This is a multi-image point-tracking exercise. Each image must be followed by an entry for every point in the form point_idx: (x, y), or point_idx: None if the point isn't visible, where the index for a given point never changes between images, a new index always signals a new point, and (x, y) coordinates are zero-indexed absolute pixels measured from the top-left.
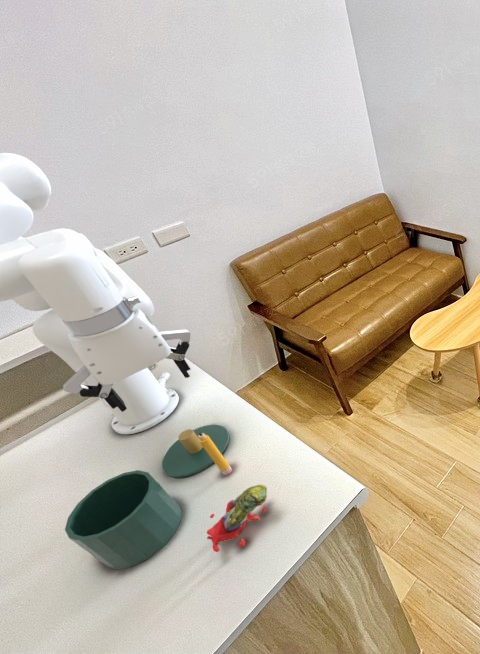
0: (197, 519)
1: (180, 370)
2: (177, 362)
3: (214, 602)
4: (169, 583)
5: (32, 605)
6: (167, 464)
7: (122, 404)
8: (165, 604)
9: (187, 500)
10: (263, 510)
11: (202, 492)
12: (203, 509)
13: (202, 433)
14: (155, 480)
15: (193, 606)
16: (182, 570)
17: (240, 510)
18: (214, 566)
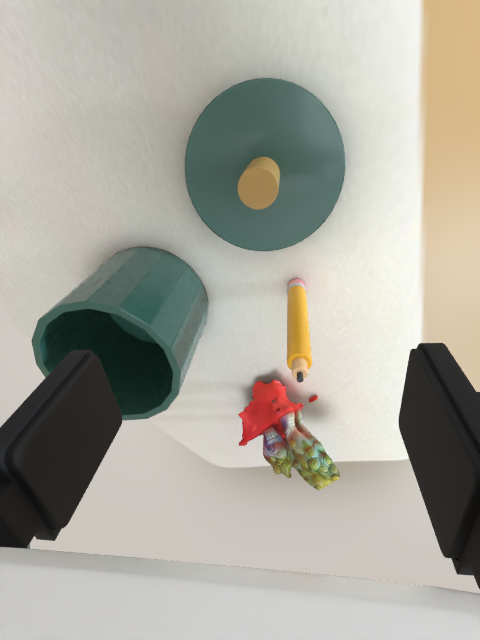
0: (228, 338)
1: (421, 490)
2: (465, 569)
3: (225, 442)
4: (184, 393)
5: (22, 296)
6: (196, 175)
7: (105, 452)
8: (178, 409)
9: (220, 291)
10: (312, 401)
11: (245, 295)
12: (239, 328)
13: (304, 370)
14: (182, 348)
15: (205, 431)
16: (199, 390)
17: (291, 466)
18: (233, 412)
